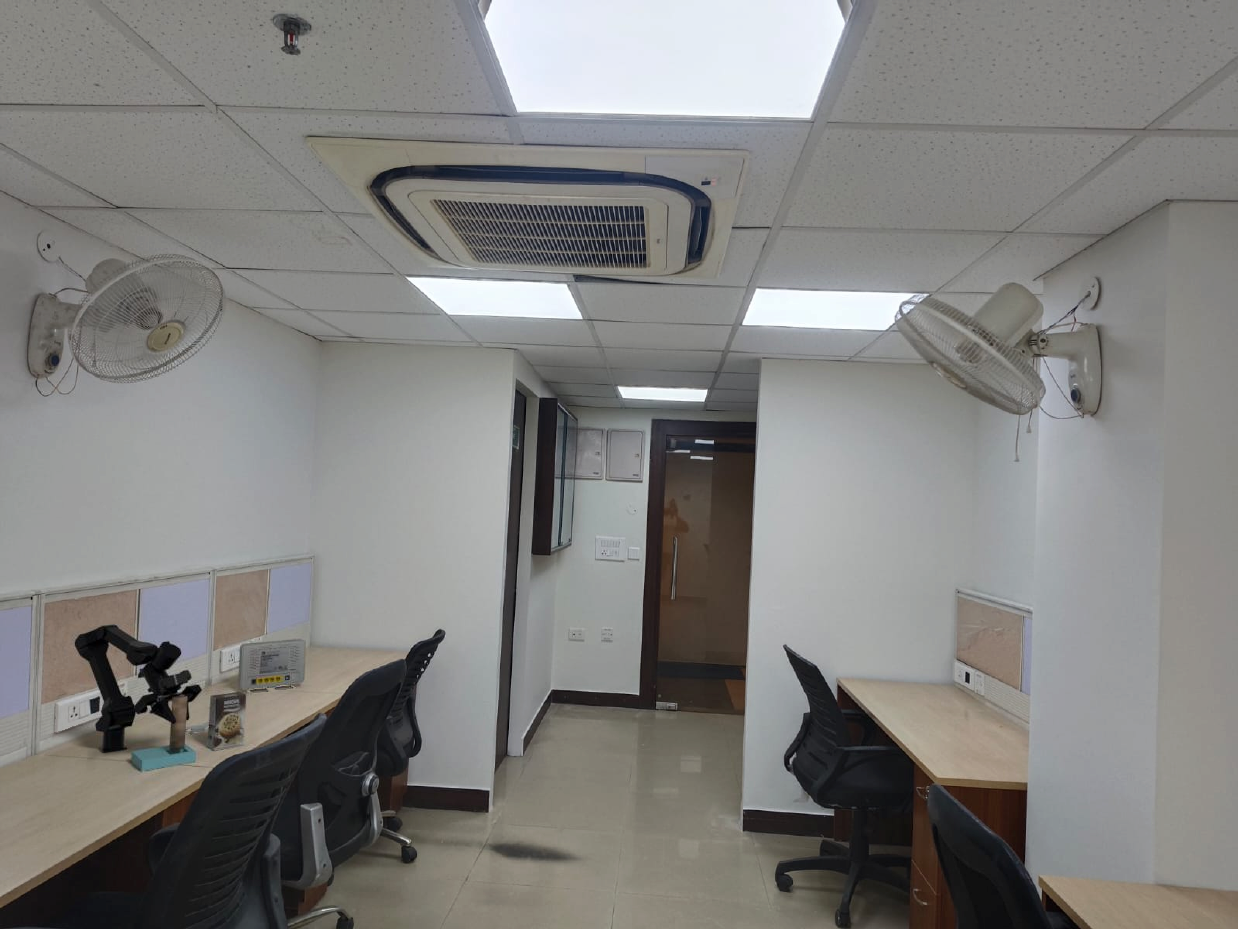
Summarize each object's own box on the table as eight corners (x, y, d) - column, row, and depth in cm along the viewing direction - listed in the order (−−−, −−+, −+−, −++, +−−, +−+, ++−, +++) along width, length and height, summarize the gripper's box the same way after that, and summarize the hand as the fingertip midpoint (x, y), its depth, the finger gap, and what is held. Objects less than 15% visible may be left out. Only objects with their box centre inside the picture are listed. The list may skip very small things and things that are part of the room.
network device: (299, 684, 343) (301, 638, 344) (306, 688, 336) (308, 640, 337) (236, 692, 327) (238, 643, 328) (241, 696, 320) (244, 646, 321)
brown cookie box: (214, 751, 246) (216, 698, 247) (206, 747, 250) (209, 695, 251) (244, 745, 252) (246, 694, 253) (236, 741, 257) (239, 691, 258)
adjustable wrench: (236, 717, 288) (236, 712, 288) (249, 719, 286) (250, 714, 286) (176, 734, 265) (176, 728, 265) (190, 736, 263) (190, 731, 263)
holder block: (131, 762, 234) (131, 751, 234) (183, 752, 244) (183, 742, 244) (141, 771, 225) (142, 761, 226) (195, 762, 235) (195, 751, 235)
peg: (166, 750, 233) (169, 698, 234) (173, 746, 237) (176, 695, 238) (180, 750, 234) (183, 698, 235) (187, 746, 238) (189, 695, 239)
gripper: (143, 667, 230) (167, 711, 225) (199, 657, 247) (223, 697, 242) (123, 692, 233) (146, 735, 228) (180, 680, 250) (203, 720, 245)
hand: (181, 721), depth 235 cm, fingers closed on peg, 4 cm apart
